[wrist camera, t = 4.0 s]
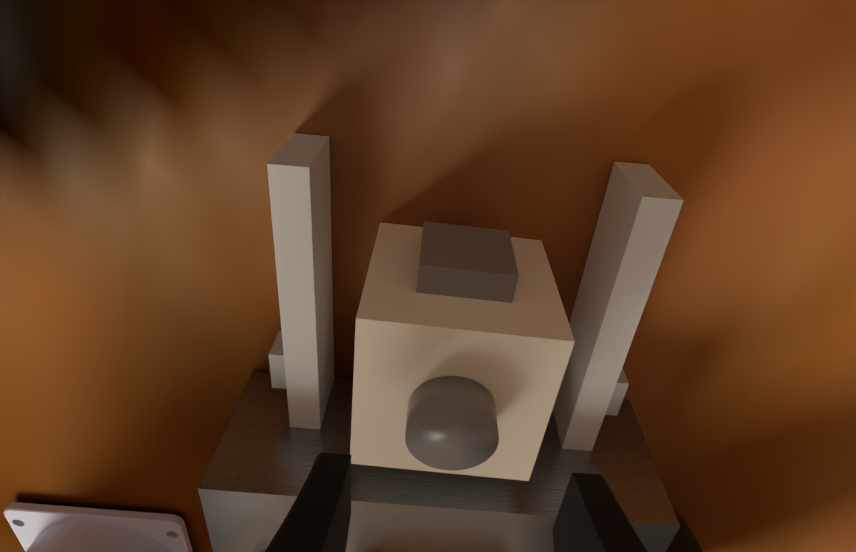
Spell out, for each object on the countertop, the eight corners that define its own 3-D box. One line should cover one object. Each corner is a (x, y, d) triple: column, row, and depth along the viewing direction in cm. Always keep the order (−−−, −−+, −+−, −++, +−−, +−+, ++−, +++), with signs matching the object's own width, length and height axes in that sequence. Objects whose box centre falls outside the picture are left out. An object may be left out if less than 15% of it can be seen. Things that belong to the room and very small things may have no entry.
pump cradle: (591, 397, 19) (609, 452, 17) (290, 373, 19) (271, 425, 17) (670, 166, 15) (708, 202, 12) (271, 130, 14) (241, 161, 12)
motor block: (589, 500, 23) (633, 666, 17) (266, 474, 22) (211, 636, 17) (629, 400, 19) (696, 567, 14) (253, 370, 19) (179, 527, 14)
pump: (510, 361, 19) (533, 514, 14) (372, 347, 19) (343, 495, 13) (547, 216, 16) (595, 342, 11) (381, 197, 16) (349, 315, 10)
